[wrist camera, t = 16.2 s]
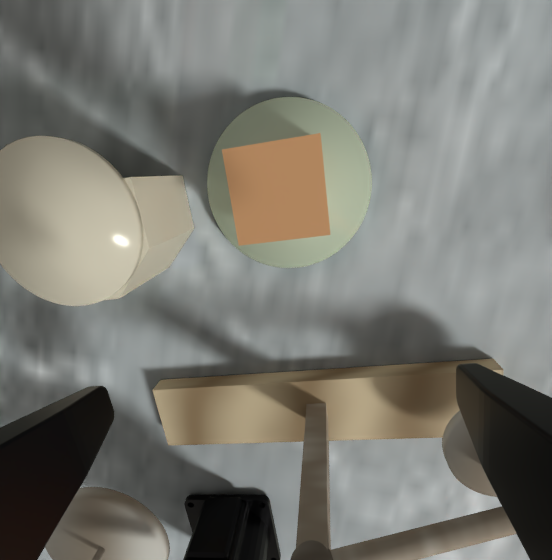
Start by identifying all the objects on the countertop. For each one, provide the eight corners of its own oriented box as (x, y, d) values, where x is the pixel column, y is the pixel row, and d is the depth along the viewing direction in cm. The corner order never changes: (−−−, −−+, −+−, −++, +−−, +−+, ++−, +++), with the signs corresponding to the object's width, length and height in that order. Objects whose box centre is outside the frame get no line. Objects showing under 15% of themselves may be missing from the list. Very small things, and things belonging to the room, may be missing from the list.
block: (329, 221, 18) (330, 234, 15) (255, 230, 19) (238, 245, 15) (321, 141, 17) (320, 133, 13) (243, 154, 18) (221, 149, 14)
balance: (521, 347, 20) (853, 642, 7) (517, 428, 21) (785, 784, 9) (138, 373, 24) (-62, 592, 11) (158, 440, 25) (0, 697, 13)
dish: (375, 255, 19) (377, 258, 19) (227, 272, 21) (224, 276, 20) (362, 84, 17) (364, 80, 16) (196, 117, 18) (191, 114, 18)
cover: (202, 263, 21) (156, 297, 15) (94, 276, 22) (15, 313, 16) (173, 135, 19) (108, 119, 13) (57, 157, 20) (-48, 152, 14)
